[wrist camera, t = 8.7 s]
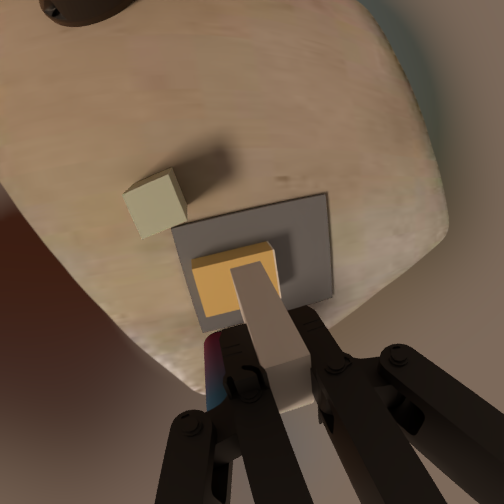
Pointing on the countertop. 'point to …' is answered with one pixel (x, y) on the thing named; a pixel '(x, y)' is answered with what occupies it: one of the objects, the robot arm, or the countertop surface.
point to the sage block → (156, 203)
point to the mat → (281, 239)
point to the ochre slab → (229, 275)
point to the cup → (214, 371)
